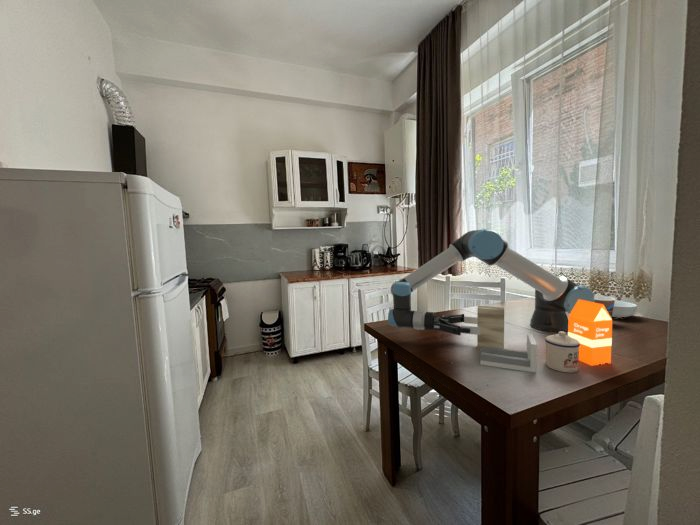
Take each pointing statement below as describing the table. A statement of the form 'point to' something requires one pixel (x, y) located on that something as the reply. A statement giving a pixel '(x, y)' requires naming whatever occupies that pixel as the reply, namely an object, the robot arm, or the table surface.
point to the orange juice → (591, 332)
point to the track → (511, 357)
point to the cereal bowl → (623, 309)
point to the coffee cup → (606, 303)
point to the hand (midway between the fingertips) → (480, 325)
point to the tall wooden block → (490, 327)
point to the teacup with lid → (562, 352)
